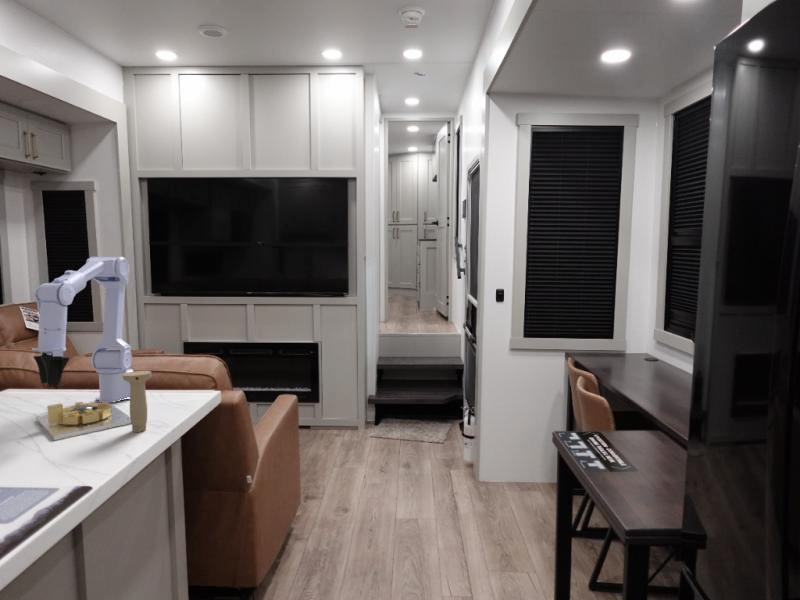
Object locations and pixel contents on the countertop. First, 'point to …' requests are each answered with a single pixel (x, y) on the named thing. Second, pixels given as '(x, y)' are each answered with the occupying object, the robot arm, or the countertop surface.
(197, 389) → the countertop surface
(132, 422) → the handle
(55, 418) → the gold blocky ring
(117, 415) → the plate
